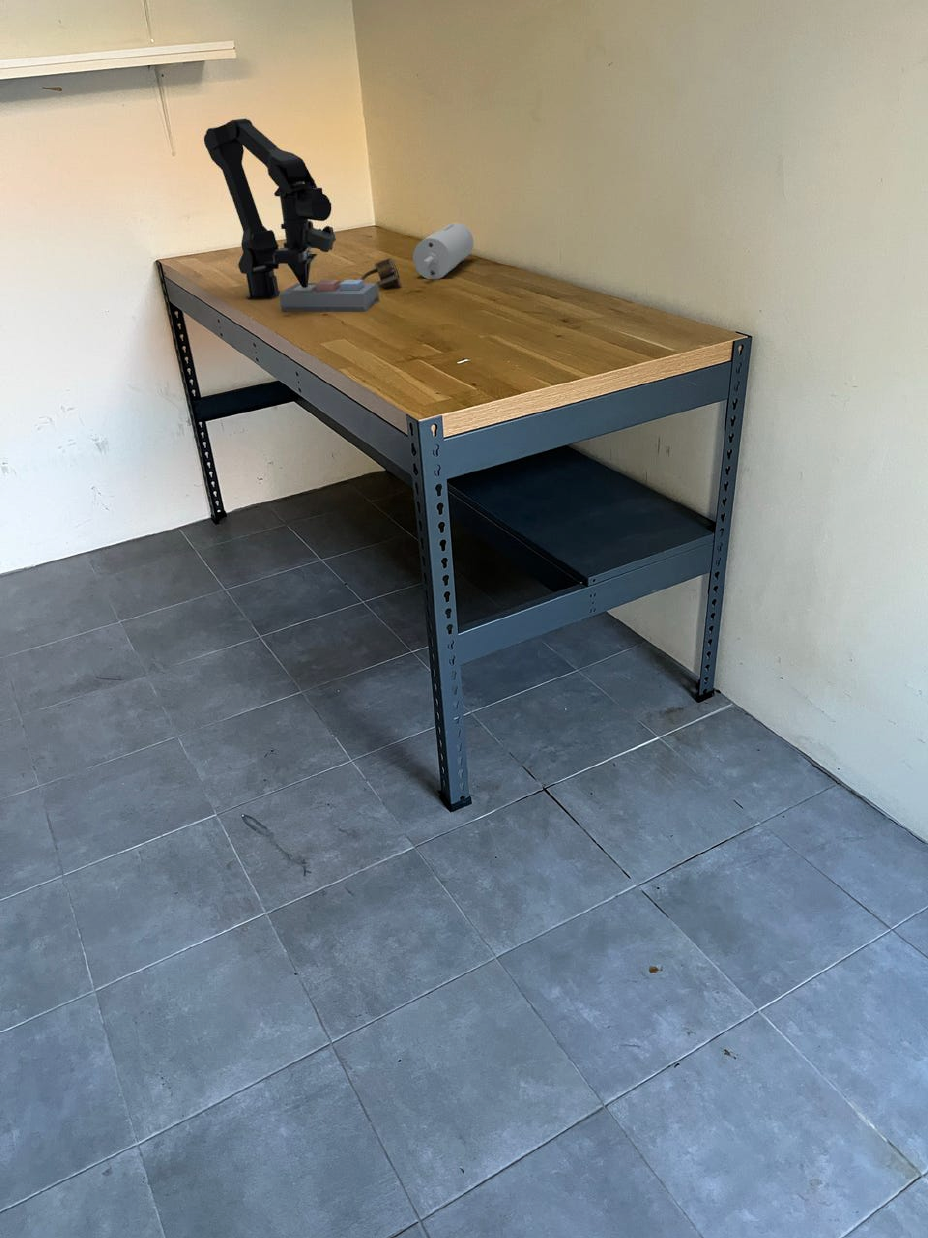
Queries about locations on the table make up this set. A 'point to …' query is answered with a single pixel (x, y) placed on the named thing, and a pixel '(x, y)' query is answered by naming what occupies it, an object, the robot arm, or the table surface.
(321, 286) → the red key
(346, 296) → the key panel
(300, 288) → the white key
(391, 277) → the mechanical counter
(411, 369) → the table surface
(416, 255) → the motor
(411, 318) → the table surface
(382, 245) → the table surface
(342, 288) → the blue key
